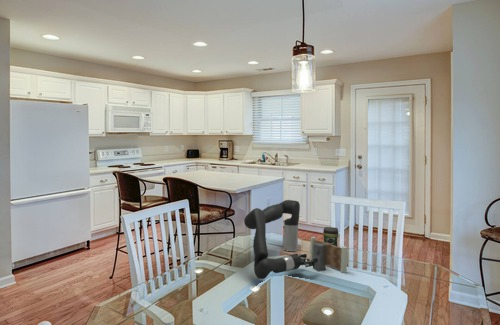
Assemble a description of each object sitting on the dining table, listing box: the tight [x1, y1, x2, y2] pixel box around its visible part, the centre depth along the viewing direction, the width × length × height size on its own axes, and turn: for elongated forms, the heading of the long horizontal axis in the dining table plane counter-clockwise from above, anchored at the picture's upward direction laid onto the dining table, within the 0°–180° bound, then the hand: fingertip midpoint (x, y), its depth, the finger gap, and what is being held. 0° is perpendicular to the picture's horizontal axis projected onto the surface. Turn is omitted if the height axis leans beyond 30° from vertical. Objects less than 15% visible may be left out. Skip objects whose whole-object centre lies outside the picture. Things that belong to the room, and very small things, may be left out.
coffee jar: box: [322, 226, 339, 247], centre depth 210 cm, size 10×8×19 cm
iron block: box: [312, 243, 327, 272], centre depth 186 cm, size 5×5×14 cm
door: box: [314, 239, 342, 271], centre depth 192 cm, size 21×1×12 cm, turn 34°
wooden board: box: [309, 236, 348, 274], centre depth 192 cm, size 25×3×14 cm, turn 34°
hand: (311, 257), depth 182 cm, fingers open, 8 cm apart
